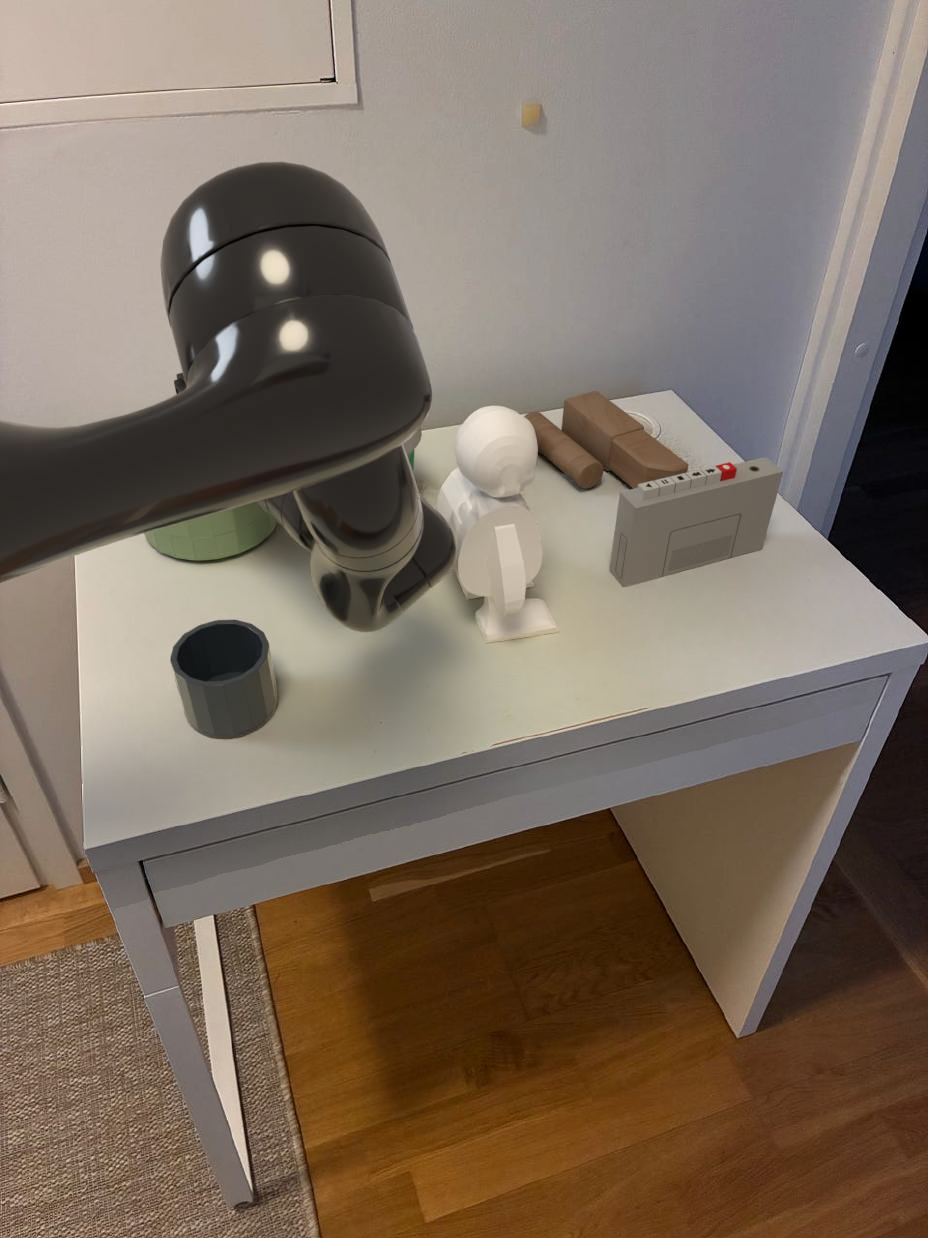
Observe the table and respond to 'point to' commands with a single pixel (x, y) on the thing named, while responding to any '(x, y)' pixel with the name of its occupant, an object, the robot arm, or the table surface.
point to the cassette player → (693, 519)
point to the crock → (225, 678)
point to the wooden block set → (603, 443)
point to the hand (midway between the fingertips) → (192, 379)
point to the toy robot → (496, 522)
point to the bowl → (214, 534)
